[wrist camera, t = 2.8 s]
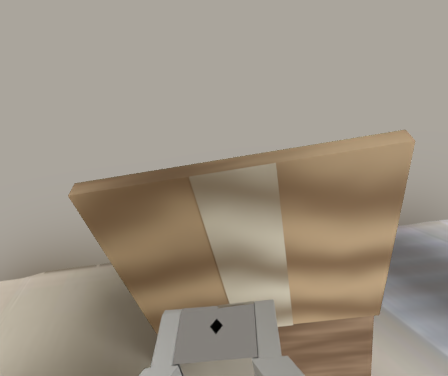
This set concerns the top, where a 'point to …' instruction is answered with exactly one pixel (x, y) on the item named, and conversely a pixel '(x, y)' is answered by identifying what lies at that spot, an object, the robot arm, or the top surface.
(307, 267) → the lid
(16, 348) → the top surface
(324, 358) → the wooden crate
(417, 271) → the top surface
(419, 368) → the top surface
